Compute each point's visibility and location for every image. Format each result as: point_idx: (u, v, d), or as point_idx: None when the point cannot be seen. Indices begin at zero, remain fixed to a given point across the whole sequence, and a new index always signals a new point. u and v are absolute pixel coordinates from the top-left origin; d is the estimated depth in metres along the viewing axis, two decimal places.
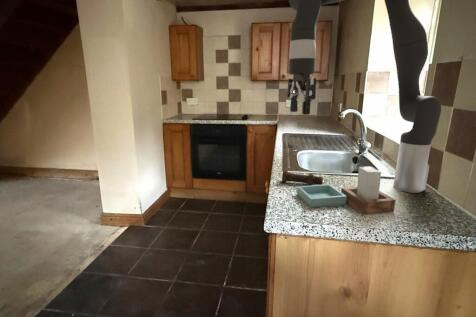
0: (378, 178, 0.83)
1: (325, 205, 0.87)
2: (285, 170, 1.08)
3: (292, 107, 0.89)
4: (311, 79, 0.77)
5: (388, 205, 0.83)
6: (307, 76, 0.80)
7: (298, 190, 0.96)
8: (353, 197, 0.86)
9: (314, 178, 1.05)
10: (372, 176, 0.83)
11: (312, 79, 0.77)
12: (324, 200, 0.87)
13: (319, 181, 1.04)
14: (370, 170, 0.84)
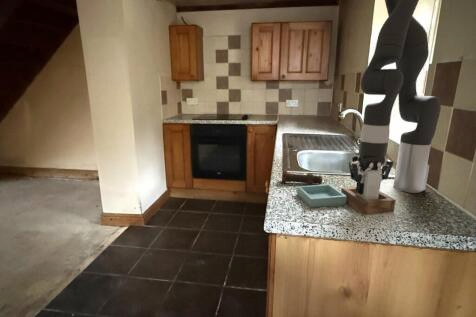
0: (378, 178, 0.83)
1: (325, 205, 0.87)
2: (284, 171, 1.07)
3: None
4: None
5: (388, 205, 0.83)
6: None
7: (298, 190, 0.96)
8: (353, 197, 0.86)
9: (314, 177, 1.05)
10: (372, 176, 0.83)
11: None
12: (324, 200, 0.87)
13: (319, 180, 1.05)
14: (370, 170, 0.84)
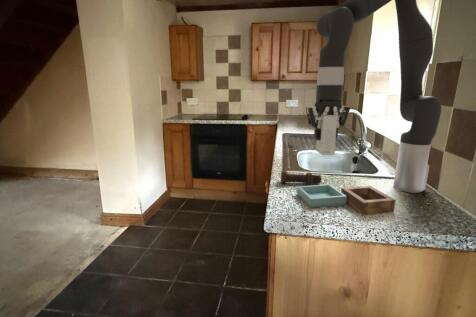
0: (334, 122, 0.83)
1: (325, 205, 0.87)
2: (284, 171, 1.07)
3: None
4: None
5: (388, 205, 0.83)
6: None
7: (298, 190, 0.96)
8: (353, 197, 0.86)
9: (313, 177, 1.06)
10: (328, 120, 0.83)
11: None
12: (324, 200, 0.87)
13: (318, 179, 1.05)
14: (327, 115, 0.84)
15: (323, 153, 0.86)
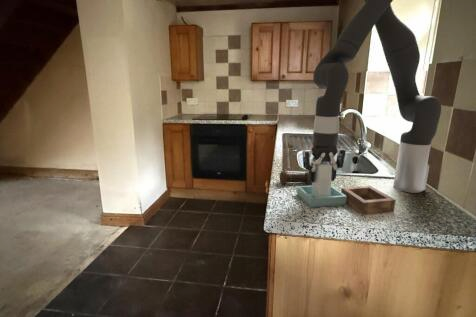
0: (329, 171, 0.88)
1: (325, 205, 0.87)
2: (283, 172, 1.06)
3: None
4: None
5: (388, 205, 0.83)
6: None
7: (298, 190, 0.96)
8: (353, 197, 0.86)
9: None
10: (324, 169, 0.87)
11: None
12: (324, 200, 0.87)
13: None
14: (322, 164, 0.88)
15: None
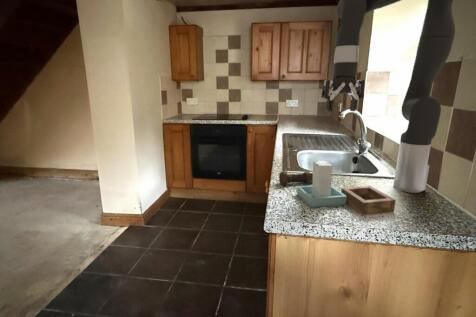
0: (330, 171, 0.88)
1: (325, 205, 0.87)
2: (283, 172, 1.05)
3: None
4: None
5: (388, 205, 0.83)
6: None
7: (298, 190, 0.96)
8: (353, 197, 0.86)
9: (311, 176, 1.07)
10: (324, 169, 0.87)
11: None
12: (324, 200, 0.87)
13: None
14: (322, 164, 0.88)
15: None
